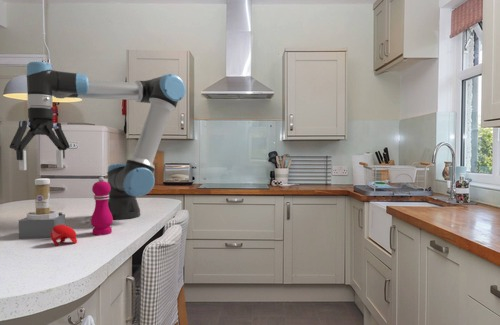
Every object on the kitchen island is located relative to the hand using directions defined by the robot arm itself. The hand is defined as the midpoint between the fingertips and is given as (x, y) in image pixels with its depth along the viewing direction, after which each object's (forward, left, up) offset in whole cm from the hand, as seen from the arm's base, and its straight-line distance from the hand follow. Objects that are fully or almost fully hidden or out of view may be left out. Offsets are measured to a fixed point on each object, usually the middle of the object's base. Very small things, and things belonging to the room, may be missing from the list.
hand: (42, 169), depth 126 cm
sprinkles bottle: (0, +1, -17) cm, 17 cm away
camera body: (0, +1, -23) cm, 23 cm away
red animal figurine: (-12, +15, -23) cm, 30 cm away
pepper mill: (-20, +2, -23) cm, 31 cm away
